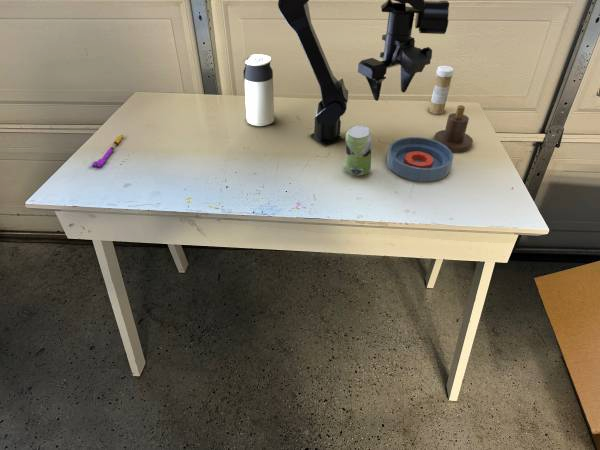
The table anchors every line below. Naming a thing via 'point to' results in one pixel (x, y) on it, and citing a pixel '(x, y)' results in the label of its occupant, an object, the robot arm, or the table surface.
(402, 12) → the robot arm
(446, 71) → the sprinkles bottle
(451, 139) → the ring stand
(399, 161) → the dish
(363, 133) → the beverage can
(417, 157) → the ring
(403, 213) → the table surface
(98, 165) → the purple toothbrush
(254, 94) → the travel mug
